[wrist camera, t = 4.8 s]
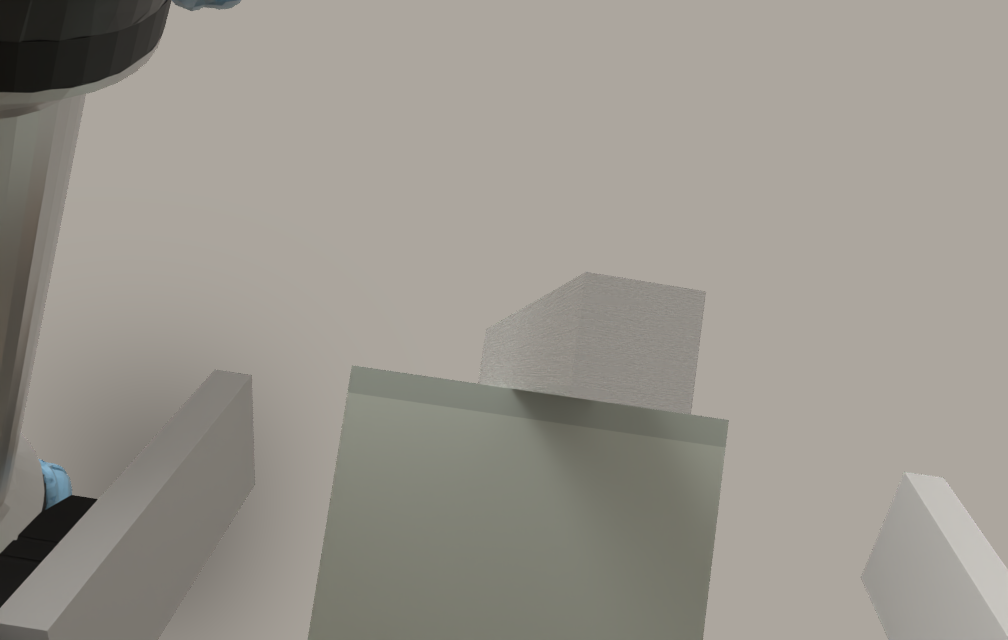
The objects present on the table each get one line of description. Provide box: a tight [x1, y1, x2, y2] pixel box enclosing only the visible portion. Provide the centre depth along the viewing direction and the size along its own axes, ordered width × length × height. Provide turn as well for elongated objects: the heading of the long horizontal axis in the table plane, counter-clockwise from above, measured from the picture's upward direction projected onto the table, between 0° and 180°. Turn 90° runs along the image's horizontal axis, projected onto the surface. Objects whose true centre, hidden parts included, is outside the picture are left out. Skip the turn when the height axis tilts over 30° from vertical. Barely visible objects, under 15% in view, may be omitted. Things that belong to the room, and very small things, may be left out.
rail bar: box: [478, 272, 706, 415], centre depth 30 cm, size 24×3×3 cm, turn 7°
